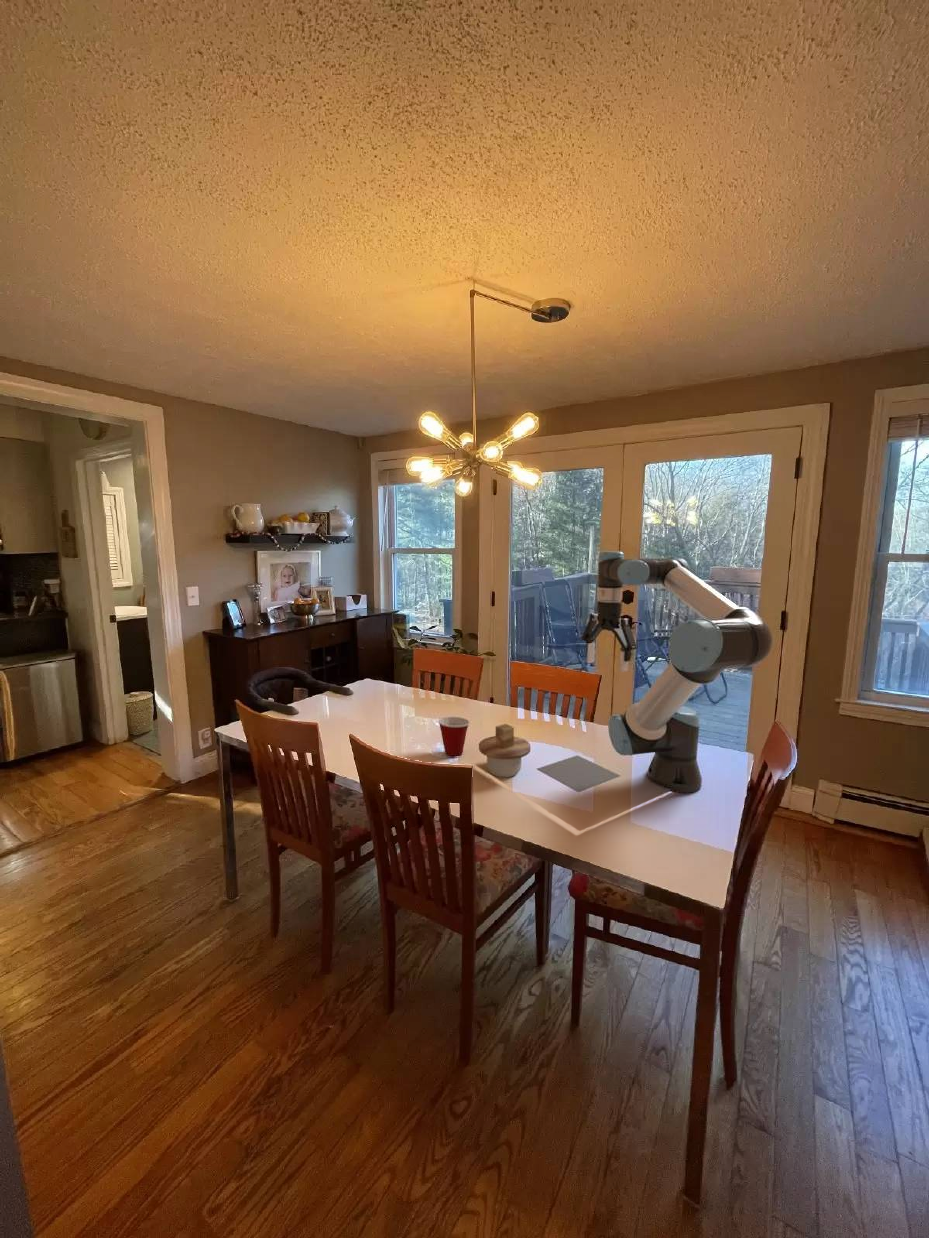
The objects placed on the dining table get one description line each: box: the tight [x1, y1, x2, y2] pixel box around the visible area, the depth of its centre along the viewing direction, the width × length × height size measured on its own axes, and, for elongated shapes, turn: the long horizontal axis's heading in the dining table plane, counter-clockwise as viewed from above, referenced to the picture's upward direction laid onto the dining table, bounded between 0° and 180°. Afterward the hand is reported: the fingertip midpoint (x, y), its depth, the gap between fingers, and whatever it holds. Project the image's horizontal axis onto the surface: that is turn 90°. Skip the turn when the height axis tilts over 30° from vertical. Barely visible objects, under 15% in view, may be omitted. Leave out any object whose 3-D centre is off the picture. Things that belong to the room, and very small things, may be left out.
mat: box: [536, 755, 621, 793], centre depth 159 cm, size 18×18×1 cm
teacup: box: [486, 756, 522, 778], centre depth 161 cm, size 14×11×8 cm
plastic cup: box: [437, 716, 471, 758], centre depth 175 cm, size 11×11×12 cm
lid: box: [478, 723, 531, 759], centre depth 160 cm, size 16×16×7 cm
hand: (606, 666), depth 165 cm, fingers open, 13 cm apart
